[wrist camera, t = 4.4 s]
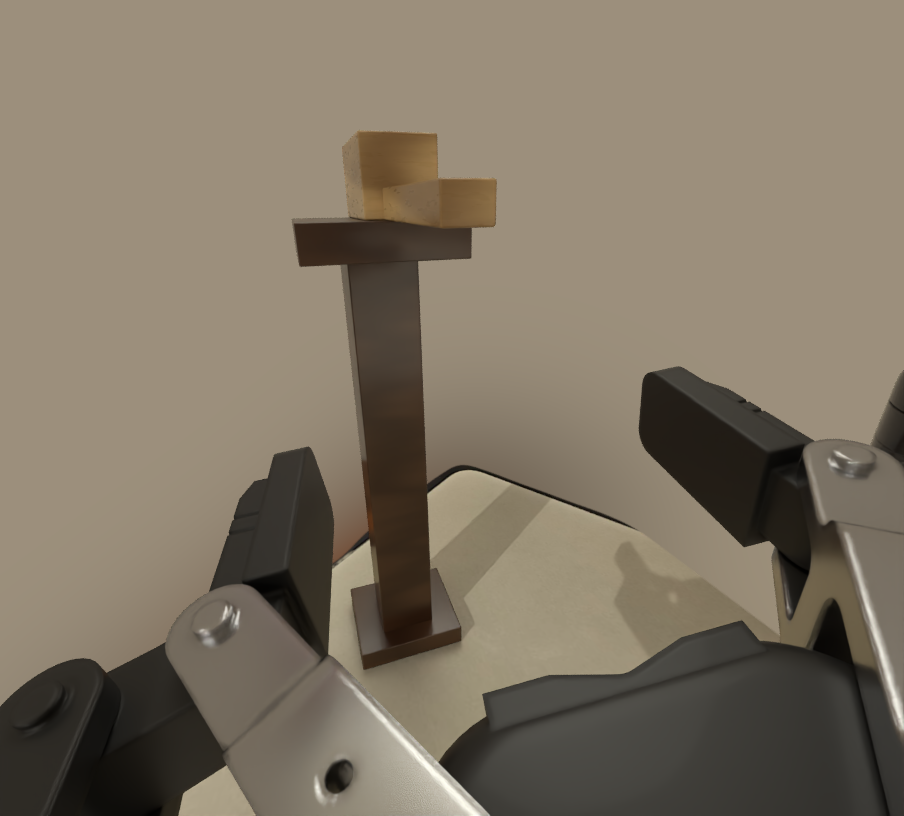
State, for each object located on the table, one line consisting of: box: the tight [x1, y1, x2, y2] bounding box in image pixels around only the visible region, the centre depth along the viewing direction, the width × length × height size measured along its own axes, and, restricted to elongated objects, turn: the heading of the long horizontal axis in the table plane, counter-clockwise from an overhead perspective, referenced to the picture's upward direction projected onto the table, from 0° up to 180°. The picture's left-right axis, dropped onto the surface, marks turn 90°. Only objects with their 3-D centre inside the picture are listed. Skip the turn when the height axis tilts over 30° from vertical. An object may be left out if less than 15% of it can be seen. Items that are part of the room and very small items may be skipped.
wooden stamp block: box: [342, 130, 497, 228], centre depth 22 cm, size 4×17×4 cm, turn 18°
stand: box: [292, 218, 472, 670], centre depth 33 cm, size 9×8×32 cm
